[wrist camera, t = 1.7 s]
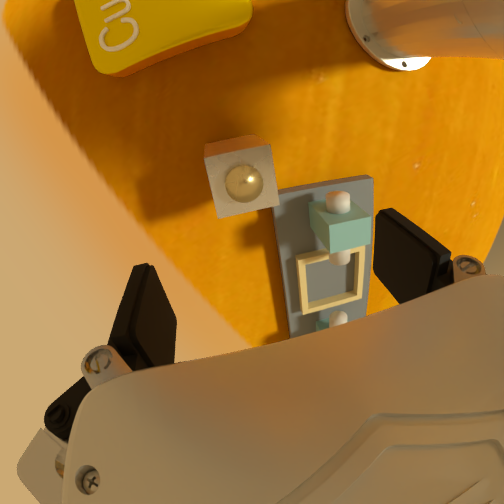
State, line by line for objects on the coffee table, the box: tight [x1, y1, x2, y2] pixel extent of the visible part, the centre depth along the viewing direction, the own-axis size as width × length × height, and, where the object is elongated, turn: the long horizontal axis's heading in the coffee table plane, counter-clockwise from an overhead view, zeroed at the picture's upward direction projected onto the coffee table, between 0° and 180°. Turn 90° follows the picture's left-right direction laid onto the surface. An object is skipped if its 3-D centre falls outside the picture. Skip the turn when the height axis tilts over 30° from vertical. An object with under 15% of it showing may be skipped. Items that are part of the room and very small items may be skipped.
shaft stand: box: [271, 175, 373, 339], centre depth 33 cm, size 24×12×8 cm, turn 10°
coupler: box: [204, 134, 280, 219], centre depth 24 cm, size 5×5×9 cm
